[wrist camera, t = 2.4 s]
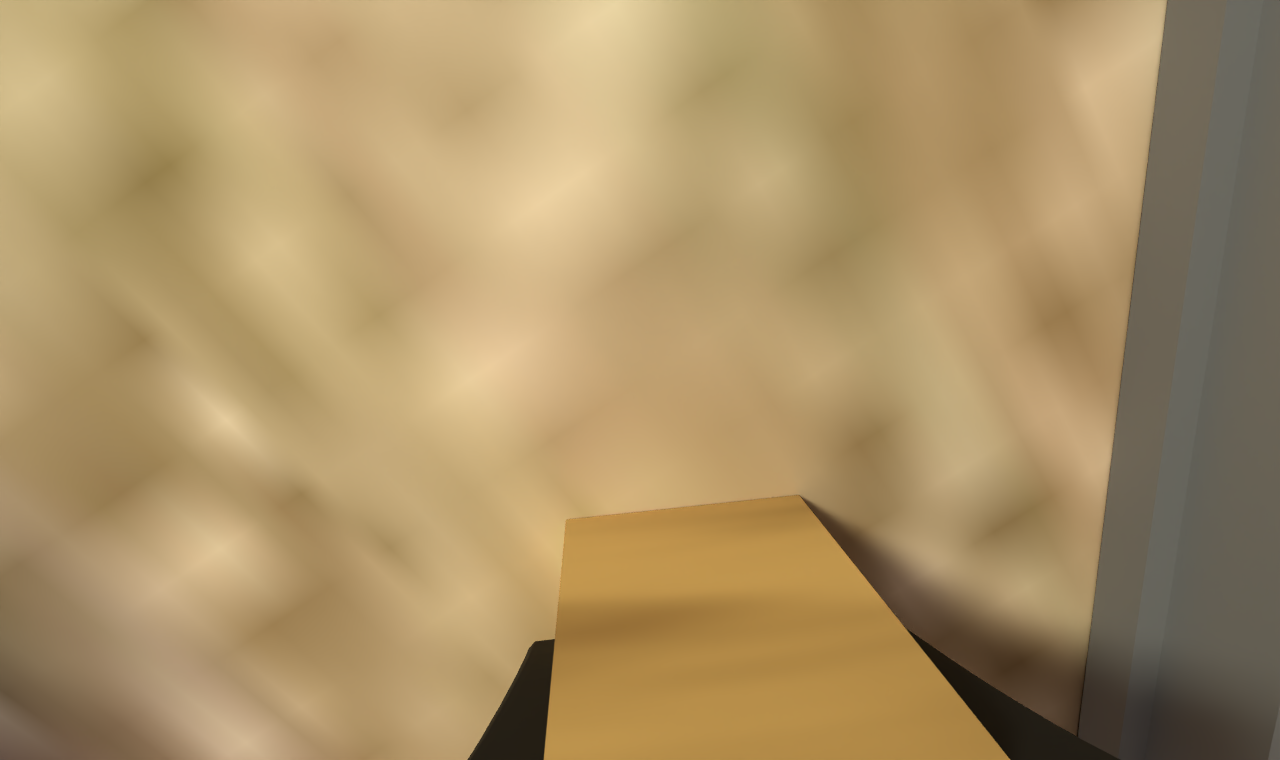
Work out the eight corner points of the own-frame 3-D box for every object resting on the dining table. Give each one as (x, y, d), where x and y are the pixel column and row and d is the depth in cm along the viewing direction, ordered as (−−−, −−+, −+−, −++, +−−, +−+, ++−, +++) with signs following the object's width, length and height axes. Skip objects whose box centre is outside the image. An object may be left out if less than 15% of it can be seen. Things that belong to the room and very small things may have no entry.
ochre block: (801, 690, 13) (981, 1082, 7) (589, 717, 12) (586, 1147, 6) (798, 495, 11) (1010, 759, 6) (565, 519, 11) (538, 824, 5)
